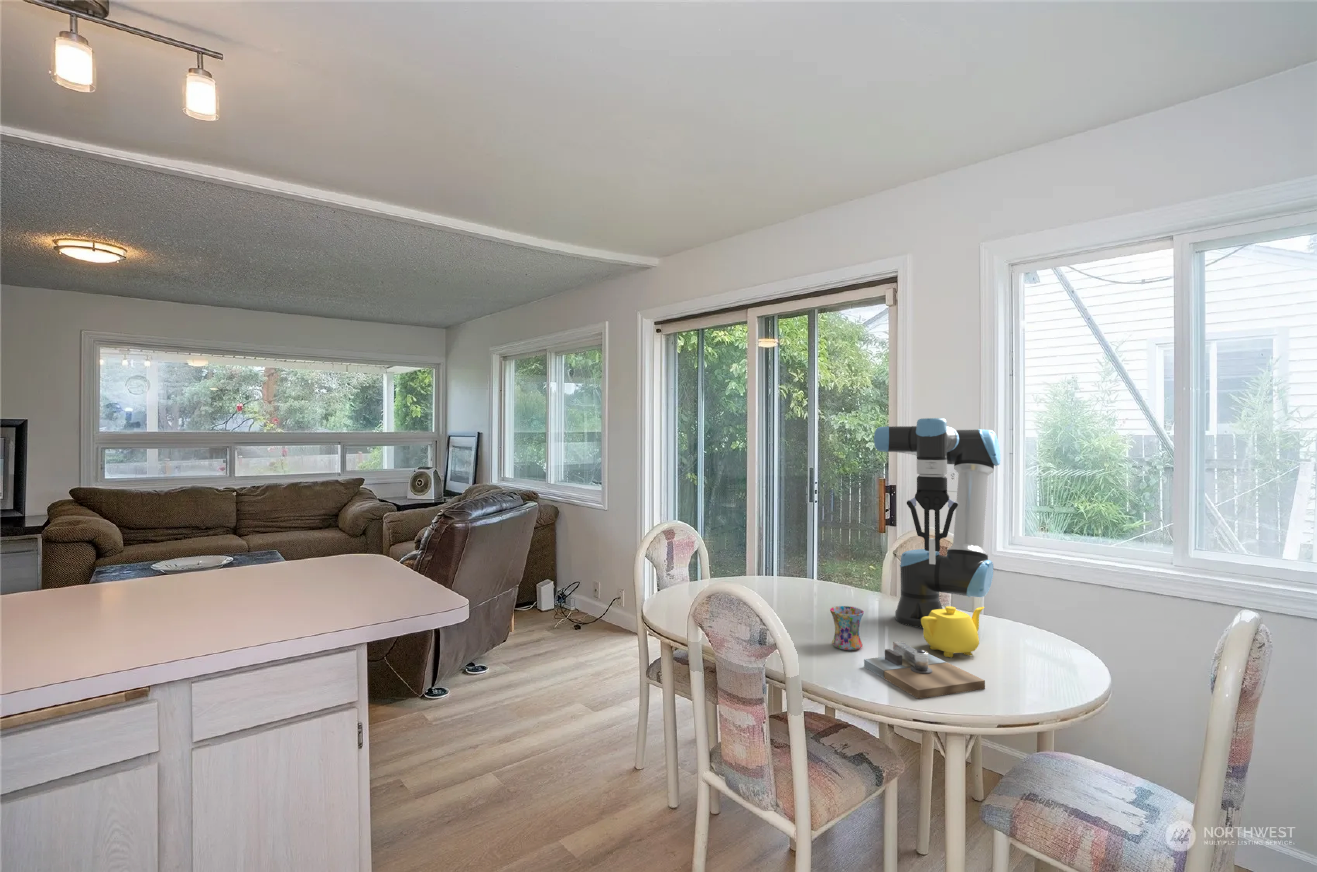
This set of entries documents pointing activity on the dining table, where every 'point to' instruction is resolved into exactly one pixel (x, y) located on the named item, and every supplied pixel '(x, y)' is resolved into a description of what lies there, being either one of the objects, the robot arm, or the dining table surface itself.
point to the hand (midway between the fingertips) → (932, 563)
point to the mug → (847, 627)
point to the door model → (923, 676)
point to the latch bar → (912, 655)
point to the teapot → (952, 630)
